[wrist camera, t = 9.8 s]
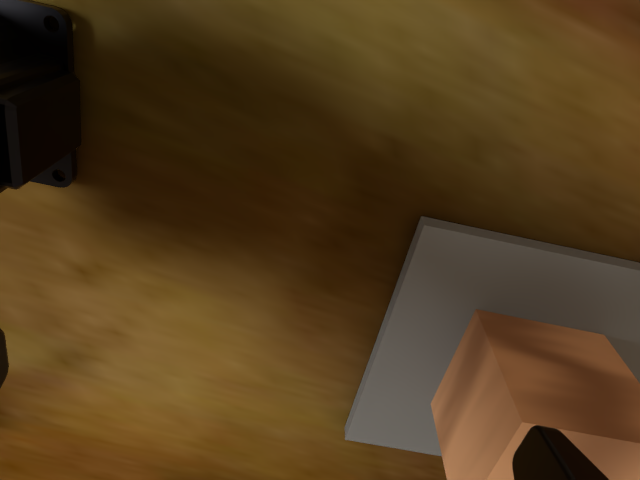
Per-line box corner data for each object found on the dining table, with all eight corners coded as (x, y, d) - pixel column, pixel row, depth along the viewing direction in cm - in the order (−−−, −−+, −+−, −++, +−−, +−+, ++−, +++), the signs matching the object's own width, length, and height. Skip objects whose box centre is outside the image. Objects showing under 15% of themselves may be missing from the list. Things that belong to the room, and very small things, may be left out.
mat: (344, 426, 26) (345, 439, 25) (420, 215, 20) (424, 225, 19) (570, 466, 27) (576, 479, 26) (711, 277, 21) (724, 288, 20)
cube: (430, 403, 24) (457, 525, 19) (475, 308, 21) (522, 422, 16) (544, 424, 24) (601, 549, 19) (604, 334, 22) (690, 452, 16)
